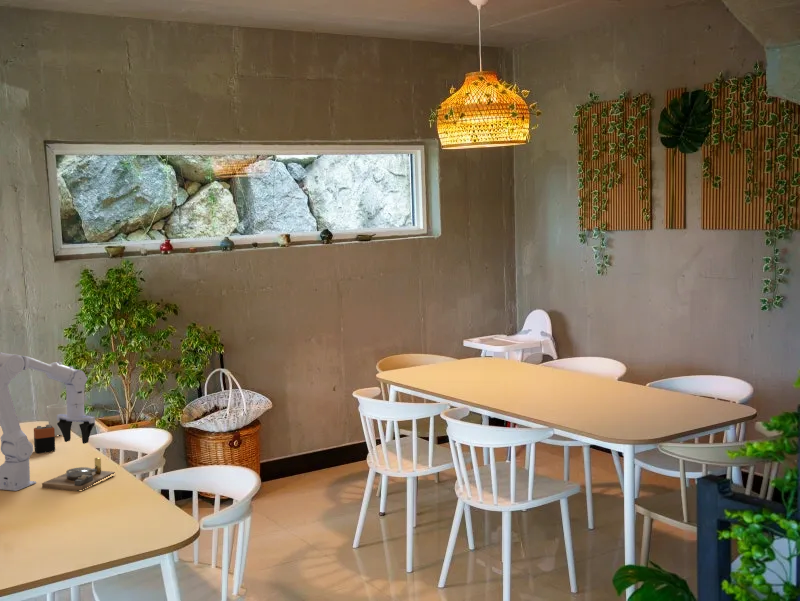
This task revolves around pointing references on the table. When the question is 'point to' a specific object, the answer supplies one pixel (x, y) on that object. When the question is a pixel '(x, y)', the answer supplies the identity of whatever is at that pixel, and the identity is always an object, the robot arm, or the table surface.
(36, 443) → the battery
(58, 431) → the cup
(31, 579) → the table surface
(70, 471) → the cam
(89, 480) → the board
